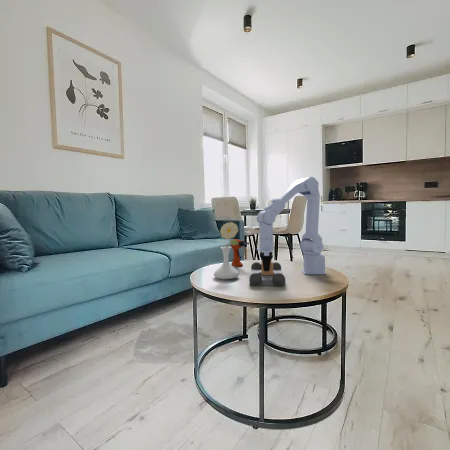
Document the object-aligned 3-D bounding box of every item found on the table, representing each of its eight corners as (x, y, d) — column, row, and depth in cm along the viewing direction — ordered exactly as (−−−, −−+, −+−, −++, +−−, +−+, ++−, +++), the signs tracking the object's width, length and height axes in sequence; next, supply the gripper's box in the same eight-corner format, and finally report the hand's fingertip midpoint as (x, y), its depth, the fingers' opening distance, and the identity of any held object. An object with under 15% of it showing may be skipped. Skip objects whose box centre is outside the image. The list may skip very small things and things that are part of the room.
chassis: (281, 272, 131) (280, 262, 131) (285, 286, 107) (285, 273, 107) (251, 272, 133) (251, 262, 132) (249, 286, 109) (249, 273, 109)
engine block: (272, 272, 122) (272, 261, 121) (273, 275, 117) (273, 263, 117) (261, 272, 122) (261, 261, 122) (261, 275, 118) (261, 263, 118)
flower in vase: (208, 278, 122) (206, 222, 121) (225, 273, 131) (224, 221, 129) (230, 283, 114) (229, 222, 112) (247, 278, 122) (246, 221, 121)
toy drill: (246, 268, 135) (243, 237, 136) (230, 266, 152) (228, 239, 153) (254, 267, 137) (252, 237, 138) (238, 265, 154) (235, 238, 155)
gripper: (257, 236, 127) (257, 266, 127) (256, 240, 112) (257, 273, 113) (272, 236, 126) (272, 266, 127) (274, 240, 111) (274, 273, 112)
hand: (266, 269), depth 120 cm, fingers closed on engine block, 4 cm apart
